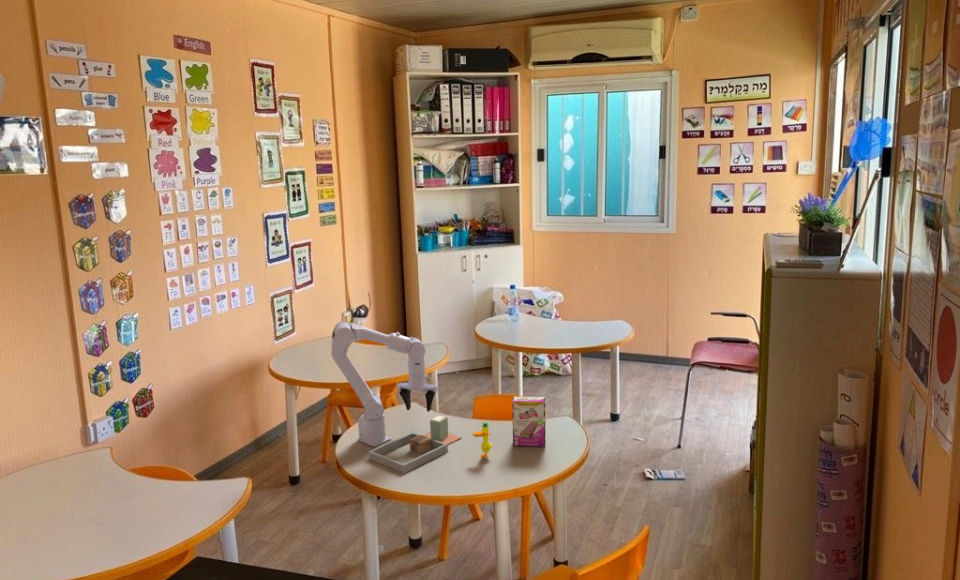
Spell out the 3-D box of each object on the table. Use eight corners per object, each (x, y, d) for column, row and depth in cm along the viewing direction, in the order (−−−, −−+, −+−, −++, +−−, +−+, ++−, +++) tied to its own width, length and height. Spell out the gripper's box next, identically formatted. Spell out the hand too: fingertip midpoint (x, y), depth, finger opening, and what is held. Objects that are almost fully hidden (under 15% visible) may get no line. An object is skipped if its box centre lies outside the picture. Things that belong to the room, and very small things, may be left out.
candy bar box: (512, 447, 235) (511, 401, 231) (513, 440, 240) (512, 396, 236) (546, 447, 234) (545, 401, 230) (546, 441, 238) (545, 396, 235)
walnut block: (410, 450, 235) (409, 439, 234) (420, 445, 239) (420, 434, 238) (420, 454, 232) (420, 443, 231) (431, 449, 236) (430, 438, 235)
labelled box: (430, 439, 242) (429, 419, 241) (438, 434, 246) (437, 414, 245) (440, 441, 240) (439, 421, 239) (448, 436, 244) (447, 416, 243)
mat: (419, 438, 244) (419, 437, 244) (436, 430, 251) (436, 429, 251) (443, 447, 236) (443, 445, 236) (461, 438, 243) (461, 437, 243)
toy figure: (474, 460, 226) (473, 425, 223) (472, 455, 229) (471, 421, 227) (494, 458, 227) (493, 423, 224) (492, 453, 230) (491, 419, 228)
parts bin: (369, 458, 229) (368, 451, 229) (413, 438, 244) (412, 432, 244) (404, 473, 218) (403, 465, 218) (447, 451, 233) (447, 444, 233)
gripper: (393, 375, 241) (395, 412, 244) (432, 378, 237) (434, 415, 240) (400, 369, 248) (403, 405, 250) (439, 371, 244) (441, 408, 246)
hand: (418, 409), depth 245 cm, fingers open, 7 cm apart
